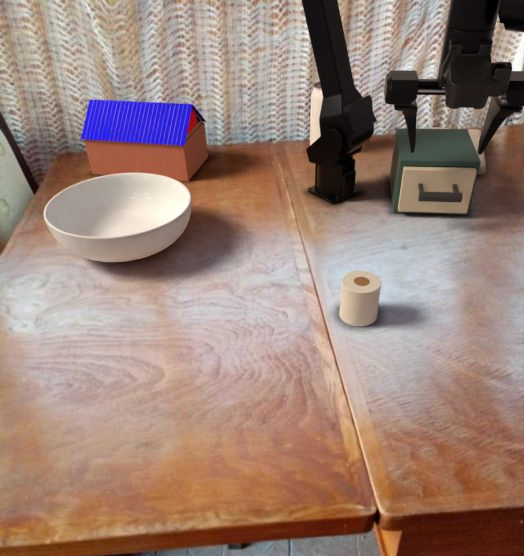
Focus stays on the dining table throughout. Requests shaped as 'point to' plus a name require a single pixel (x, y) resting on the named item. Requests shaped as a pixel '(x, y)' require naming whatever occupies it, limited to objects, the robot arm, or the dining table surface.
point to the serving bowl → (119, 216)
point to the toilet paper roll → (359, 298)
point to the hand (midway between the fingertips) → (445, 152)
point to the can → (315, 112)
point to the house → (144, 138)
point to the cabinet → (431, 156)
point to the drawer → (436, 189)
